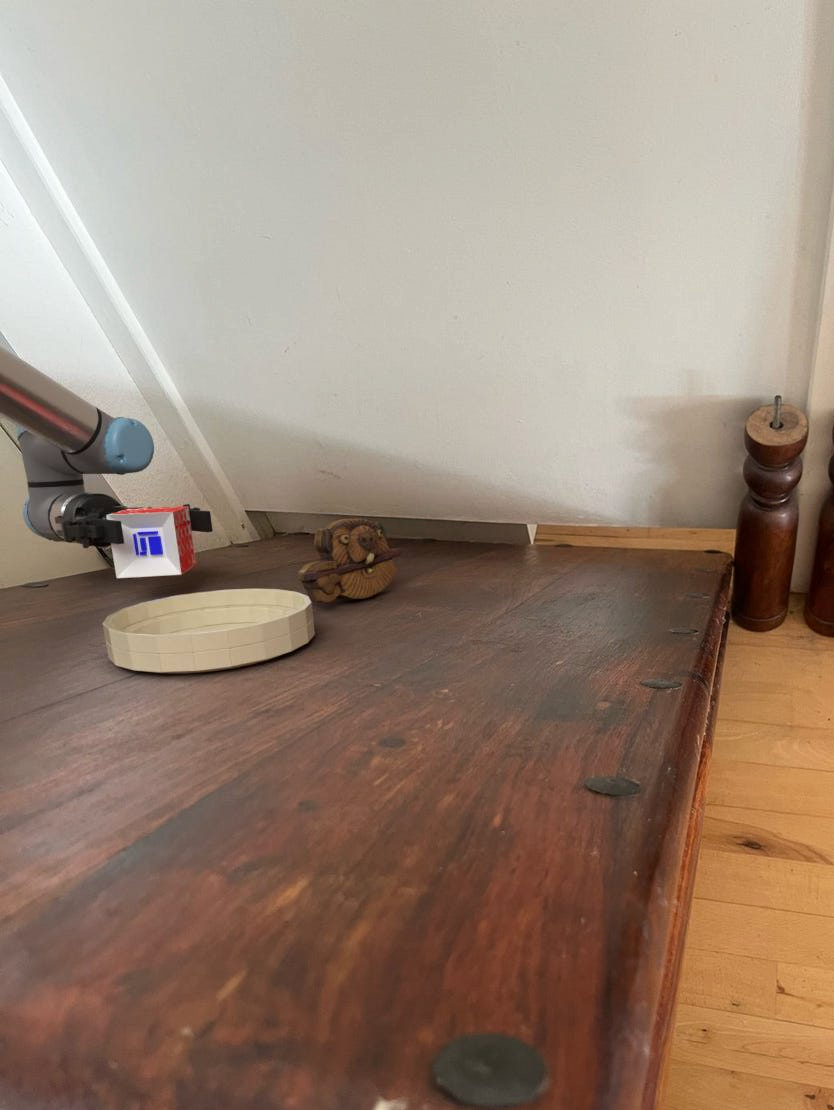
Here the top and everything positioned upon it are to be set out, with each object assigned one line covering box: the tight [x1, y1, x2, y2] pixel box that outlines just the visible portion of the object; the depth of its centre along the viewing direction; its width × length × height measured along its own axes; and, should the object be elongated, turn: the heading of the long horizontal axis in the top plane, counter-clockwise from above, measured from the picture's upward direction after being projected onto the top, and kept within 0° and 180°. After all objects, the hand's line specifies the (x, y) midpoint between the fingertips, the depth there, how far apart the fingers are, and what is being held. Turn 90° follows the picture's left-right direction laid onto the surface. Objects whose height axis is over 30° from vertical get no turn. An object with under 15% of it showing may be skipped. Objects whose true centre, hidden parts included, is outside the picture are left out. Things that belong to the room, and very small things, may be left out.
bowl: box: [102, 588, 316, 675], centre depth 76 cm, size 19×19×4 cm
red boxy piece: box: [106, 505, 197, 579], centre depth 100 cm, size 8×8×8 cm
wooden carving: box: [297, 518, 403, 604], centre depth 94 cm, size 16×5×10 cm, turn 150°
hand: (166, 526), depth 97 cm, fingers closed on red boxy piece, 11 cm apart
